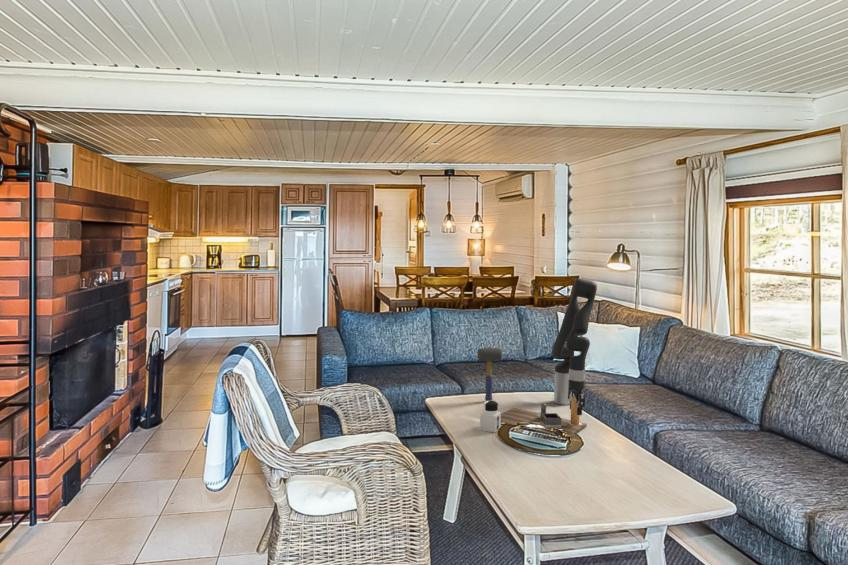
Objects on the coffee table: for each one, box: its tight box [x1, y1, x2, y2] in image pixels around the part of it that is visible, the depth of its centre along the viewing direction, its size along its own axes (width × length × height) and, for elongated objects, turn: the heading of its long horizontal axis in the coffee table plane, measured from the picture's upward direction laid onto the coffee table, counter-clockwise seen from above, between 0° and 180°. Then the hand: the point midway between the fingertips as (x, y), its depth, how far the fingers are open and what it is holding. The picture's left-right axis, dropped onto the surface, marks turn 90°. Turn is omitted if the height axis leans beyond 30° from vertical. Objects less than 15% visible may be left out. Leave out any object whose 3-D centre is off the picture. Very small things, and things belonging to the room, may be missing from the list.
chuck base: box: [500, 407, 588, 436], centre depth 257 cm, size 24×39×2 cm, turn 52°
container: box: [479, 400, 502, 433], centre depth 250 cm, size 8×8×13 cm
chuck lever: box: [536, 402, 562, 429], centre depth 254 cm, size 19×8×7 cm, turn 3°
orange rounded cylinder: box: [570, 396, 581, 425], centre depth 253 cm, size 4×4×13 cm
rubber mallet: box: [477, 347, 503, 401], centre depth 292 cm, size 12×8×30 cm, turn 97°
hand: (575, 412), depth 253 cm, fingers open, 8 cm apart
